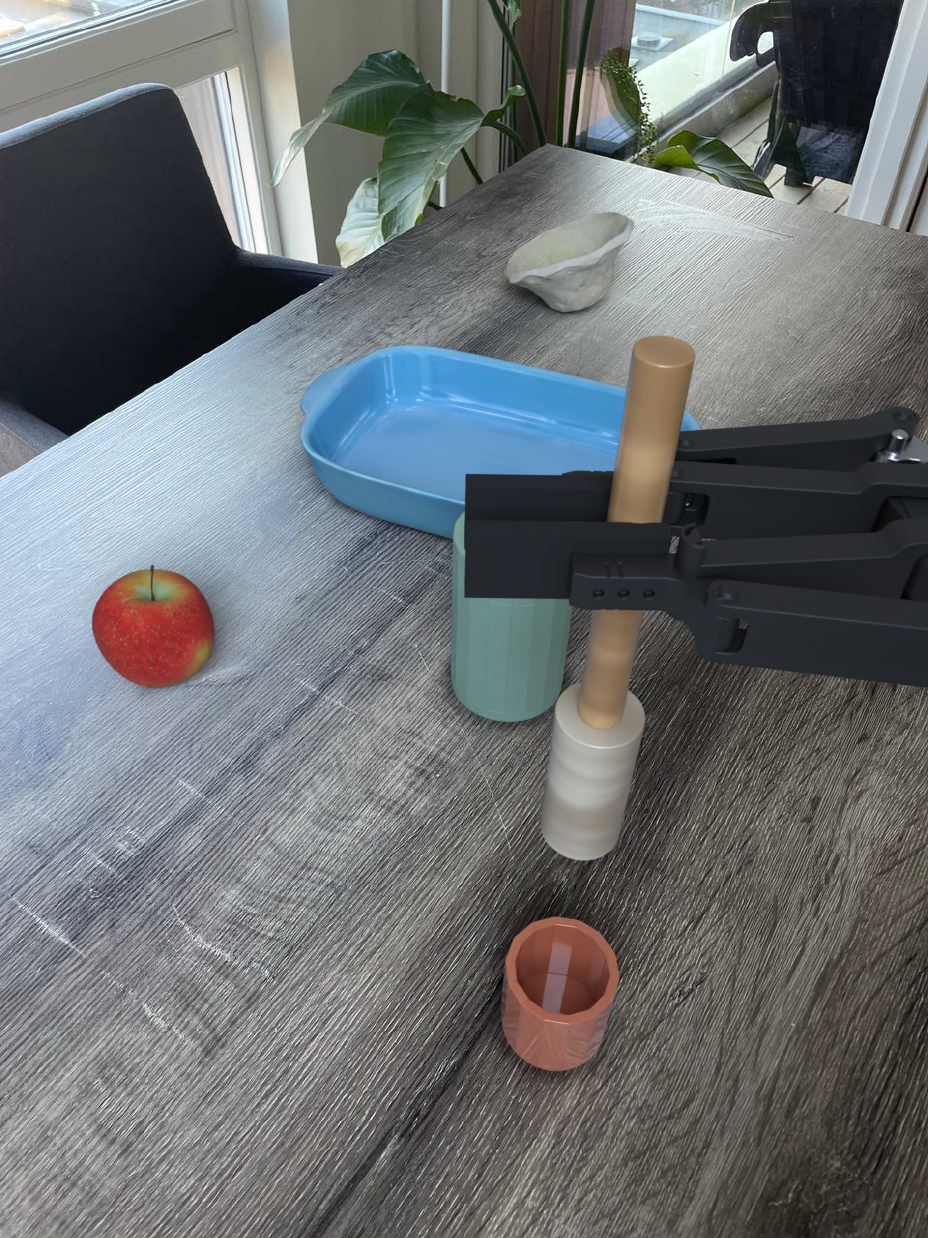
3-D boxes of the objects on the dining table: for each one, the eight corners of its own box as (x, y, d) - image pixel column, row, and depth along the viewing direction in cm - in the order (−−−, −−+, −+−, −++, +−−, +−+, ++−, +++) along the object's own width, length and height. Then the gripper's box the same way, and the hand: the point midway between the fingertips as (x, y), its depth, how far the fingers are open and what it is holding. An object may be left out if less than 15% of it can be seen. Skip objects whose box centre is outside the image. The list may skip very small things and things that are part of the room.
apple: (101, 650, 75) (67, 549, 68) (207, 621, 78) (185, 520, 71) (121, 726, 70) (87, 625, 63) (234, 692, 73) (213, 591, 66)
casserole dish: (723, 469, 94) (739, 403, 89) (674, 624, 79) (690, 555, 74) (365, 389, 103) (362, 325, 98) (259, 515, 87) (248, 447, 82)
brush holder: (572, 1094, 53) (584, 1047, 49) (480, 1030, 55) (483, 980, 51) (624, 1006, 56) (639, 956, 52) (535, 950, 59) (542, 897, 55)
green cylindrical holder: (524, 740, 70) (538, 594, 60) (428, 689, 73) (427, 542, 64) (582, 670, 75) (604, 525, 65) (490, 625, 78) (498, 480, 68)
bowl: (524, 266, 124) (529, 183, 117) (635, 285, 121) (647, 202, 114) (485, 320, 114) (488, 233, 107) (605, 343, 110) (616, 255, 103)
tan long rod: (595, 875, 44) (694, 396, 27) (525, 834, 45) (578, 356, 28) (633, 819, 46) (748, 343, 29) (565, 781, 47) (637, 307, 30)
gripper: (1218, 790, 31) (463, 783, 31) (1025, 498, 42) (462, 491, 41) (1377, 618, 26) (468, 607, 25) (1110, 334, 36) (466, 324, 36)
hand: (466, 535), depth 33 cm, fingers closed on tan long rod, 2 cm apart
